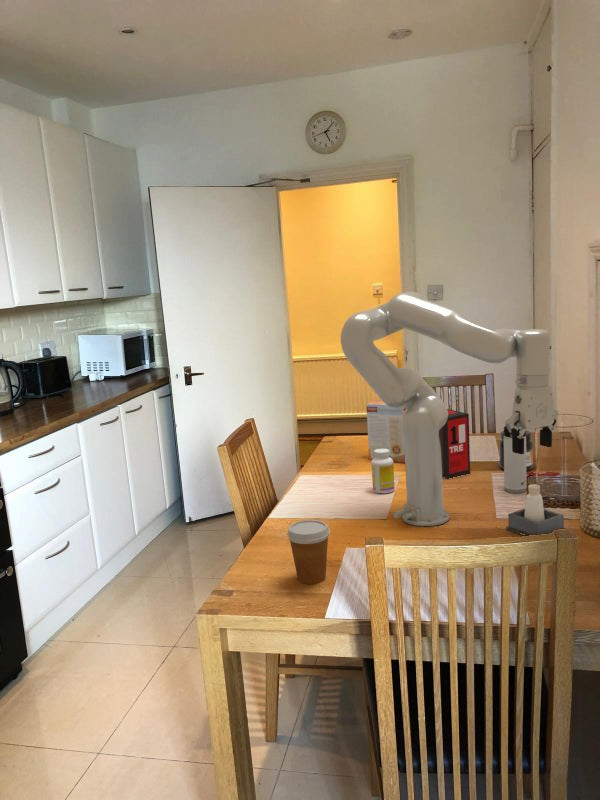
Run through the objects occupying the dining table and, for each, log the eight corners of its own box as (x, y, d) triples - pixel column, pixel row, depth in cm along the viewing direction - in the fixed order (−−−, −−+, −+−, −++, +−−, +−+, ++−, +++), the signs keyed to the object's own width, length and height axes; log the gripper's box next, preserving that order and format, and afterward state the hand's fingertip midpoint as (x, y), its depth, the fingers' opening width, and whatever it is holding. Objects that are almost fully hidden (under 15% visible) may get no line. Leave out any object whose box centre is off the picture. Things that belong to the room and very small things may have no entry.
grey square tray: (538, 541, 159) (538, 524, 159) (506, 529, 168) (506, 513, 167) (566, 530, 164) (566, 515, 164) (533, 519, 173) (533, 504, 172)
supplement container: (532, 473, 211) (532, 436, 209) (497, 472, 215) (497, 436, 213) (534, 464, 220) (533, 429, 218) (501, 463, 224) (500, 428, 222)
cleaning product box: (417, 467, 226) (414, 410, 222) (438, 463, 229) (436, 406, 226) (448, 479, 211) (446, 418, 207) (470, 474, 215) (468, 413, 211)
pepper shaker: (531, 533, 163) (530, 490, 161) (518, 525, 168) (518, 484, 166) (550, 529, 164) (550, 487, 162) (537, 522, 169) (537, 481, 167)
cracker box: (411, 459, 237) (409, 401, 233) (404, 463, 232) (402, 404, 228) (376, 455, 244) (373, 400, 240) (368, 460, 239) (365, 403, 235)
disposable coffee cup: (284, 585, 146) (279, 533, 144) (299, 566, 155) (295, 517, 153) (325, 589, 143) (321, 536, 140) (338, 570, 151) (335, 520, 149)
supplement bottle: (399, 489, 204) (397, 449, 202) (386, 495, 200) (384, 454, 197) (381, 486, 209) (379, 446, 207) (368, 492, 204) (366, 451, 202)
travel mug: (529, 493, 193) (528, 426, 189) (505, 493, 194) (504, 426, 191) (526, 486, 199) (525, 421, 195) (503, 486, 200) (502, 422, 197)
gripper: (519, 387, 153) (519, 459, 156) (569, 378, 161) (568, 446, 164) (495, 383, 159) (495, 452, 163) (544, 375, 168) (543, 440, 171)
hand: (532, 449), depth 163 cm, fingers open, 9 cm apart
